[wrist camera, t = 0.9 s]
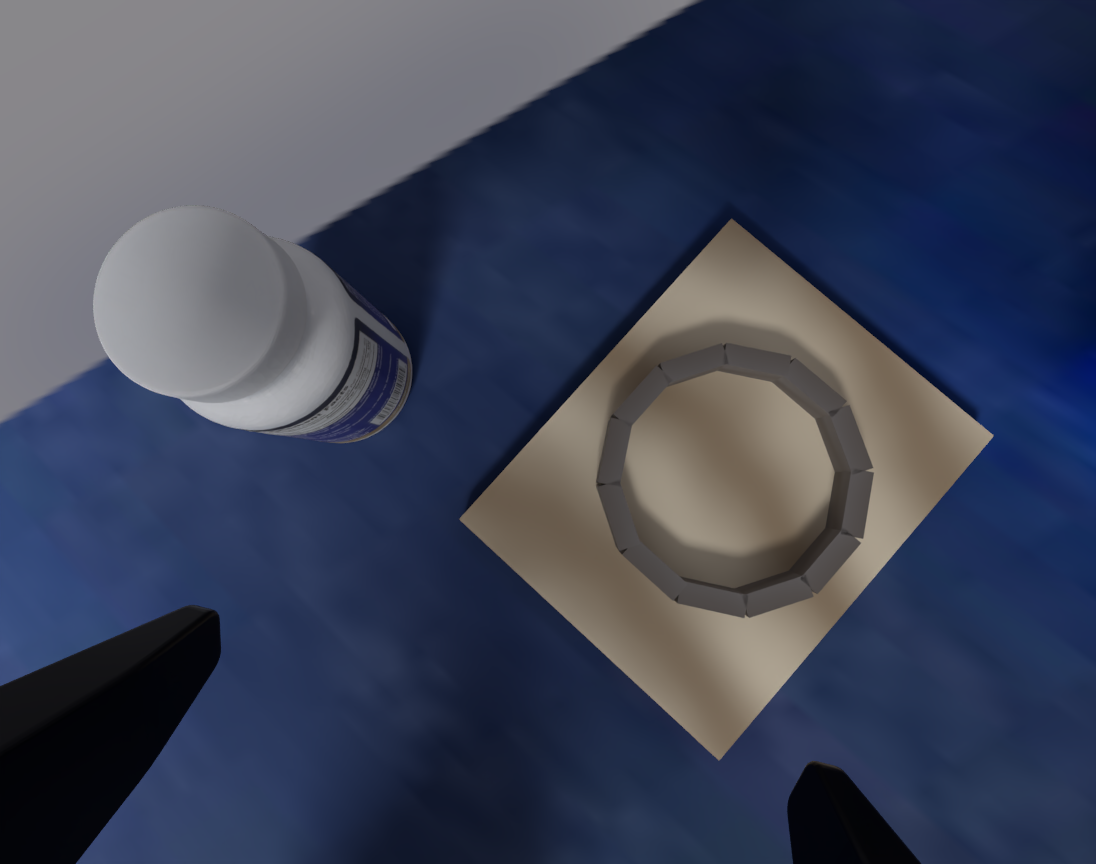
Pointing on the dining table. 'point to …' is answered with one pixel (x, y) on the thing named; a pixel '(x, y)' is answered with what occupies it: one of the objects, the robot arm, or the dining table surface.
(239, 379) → the pill bottle
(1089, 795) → the dining table surface
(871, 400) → the collar board
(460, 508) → the dining table surface
